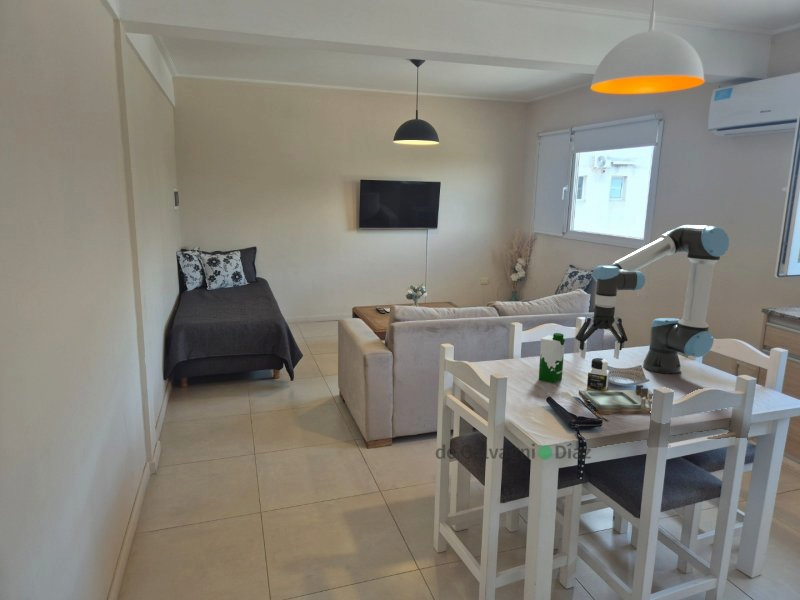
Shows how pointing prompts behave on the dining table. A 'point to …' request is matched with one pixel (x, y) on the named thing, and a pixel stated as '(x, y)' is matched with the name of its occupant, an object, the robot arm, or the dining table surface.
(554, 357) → the milk carton
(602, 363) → the medicine bottle
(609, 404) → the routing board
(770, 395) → the dining table surface
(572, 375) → the dining table surface
